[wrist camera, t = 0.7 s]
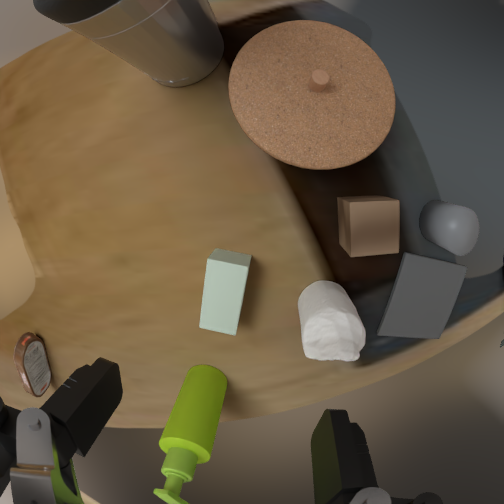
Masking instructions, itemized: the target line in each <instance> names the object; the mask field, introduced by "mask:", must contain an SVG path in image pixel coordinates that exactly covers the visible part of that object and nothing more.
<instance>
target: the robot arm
mask: <svg viewBox="0 0 504 504" xmlns="http://www.w3.org/2000/svg"><path fill="white" fill-rule="evenodd" d="M33 3H34V6H35V8H36V10H37V11H38V12H40V13H41V14H43V15H44V16H46V17H48V18H50V19H52V20H55V21H56V22H59V23H60V24H63V25H64V26H66V27H68V28H70V29H72V30H74V31H76V32H77V33H79V34H81V35H83V36H85V37H87V38H88V39H90V40H92V41H94V42H95V43H97V44H99V45H101V46H102V47H104V48H106V49H107V50H109V51H111V52H112V53H114V54H115V55H117V56H119V57H120V58H122V59H123V60H125V61H127V62H128V63H130V64H131V65H133V66H134V67H136V68H137V69H139V70H140V71H142V72H143V73H145V74H146V75H148V76H149V77H151V78H152V79H153V80H155V81H157V82H158V83H160V84H162V85H165V86H170V87H181V86H187V85H190V84H193V83H196V82H198V81H200V80H202V79H203V78H205V77H206V76H208V75H209V74H210V73H211V72H212V71H213V70H214V69H215V68H216V66H217V65H218V64H219V62H220V60H221V58H222V56H223V52H224V41H223V38H222V35H221V33H220V31H219V29H218V26H217V24H218V22H217V20H216V18H215V15H214V13H213V11H212V9H211V6H210V4H209V2H208V0H33ZM122 394H123V389H122V383H121V377H120V371H119V366H118V364H117V363H114V362H111V361H109V360H106V359H104V358H101V357H100V358H98V359H97V360H96V361H95V362H94V363H93V364H92V365H91V366H89V365H85V366H83V367H81V368H78V369H76V370H75V371H74V373H73V374H72V375H71V376H70V377H69V379H67V380H66V381H65V382H64V383H63V385H61V386H60V387H59V388H58V389H57V391H56V392H55V393H54V394H53V395H52V396H51V397H50V398H49V399H48V400H47V401H46V402H45V404H44V405H43V406H42V407H41V408H39V409H38V408H27V409H24V410H23V411H20V410H17V409H15V408H12V407H9V406H7V405H5V404H4V402H3V400H2V399H1V397H0V497H1V495H2V494H3V491H4V490H5V488H6V487H7V485H8V483H9V482H10V480H11V489H12V496H13V502H14V504H84V502H83V500H82V498H81V494H80V491H79V487H78V483H77V479H76V475H75V470H74V465H73V460H72V457H73V455H74V453H77V454H79V455H81V456H82V457H85V456H86V454H87V452H88V451H89V449H90V448H91V446H92V445H93V443H94V441H95V440H96V438H97V437H98V435H99V434H100V432H101V431H102V429H103V428H104V426H105V425H106V423H107V421H108V420H109V418H110V417H111V415H112V414H113V412H114V411H115V409H116V408H117V406H118V405H119V403H120V401H121V399H122ZM366 444H367V442H366V438H365V434H364V432H363V430H362V429H361V428H360V427H359V425H358V424H357V423H350V421H349V417H348V413H347V411H346V410H336V409H335V410H334V409H326V410H325V411H324V413H323V415H322V417H321V419H320V421H319V423H318V424H317V426H316V428H315V430H314V432H313V434H312V439H311V453H312V466H313V482H314V499H315V504H443V502H442V500H441V498H440V497H439V496H438V495H436V494H434V493H430V492H426V493H423V494H420V495H419V496H417V497H416V498H415V499H403V498H393V497H390V496H389V495H388V493H386V492H385V491H384V490H382V489H380V488H379V487H378V485H377V481H376V477H375V473H374V469H373V465H372V461H371V457H370V454H369V449H368V446H367V445H366Z"/></svg>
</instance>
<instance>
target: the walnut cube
mask: <svg viewBox="0 0 504 504" xmlns="http://www.w3.org/2000/svg"><path fill="white" fill-rule="evenodd" d="M337 203H338V223H339V244H340V245H341V246H342V247H343V248H344V250H345V251H346V252H347V253H348V254H349V256H350V257H358V256H369V255H380V254H391V253H399V226H400V209H399V200H396V199H392V198H389V197H385V196H381V195H377V196H353V197H337Z"/></svg>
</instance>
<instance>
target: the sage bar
mask: <svg viewBox="0 0 504 504" xmlns="http://www.w3.org/2000/svg"><path fill="white" fill-rule="evenodd" d="M251 256H252V255H248V254H243V253H238V252H233V251H228V250H223V249H218V248H215V250H214V251H213V252H212V254H211V255H210V256H209V257H208V260H207V267H206V275H205V283H204V291H203V299H202V308H201V317H200V326H199V327H200V328H204V329H208V330H213V331H217V332H222V333H226V334H231V335H236V331H237V327H238V323H239V319H240V313H241V308H242V303H243V298H244V293H245V287H246V282H247V277H248V272H249V266H250V261H251Z"/></svg>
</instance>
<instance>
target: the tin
mask: <svg viewBox="0 0 504 504" xmlns="http://www.w3.org/2000/svg"><path fill="white" fill-rule="evenodd" d="M14 363H15V366H16V369H17V371H18V374H19V377H20V379H21V382H22V385H23V387H24V389H25V391H27V392H28V393H30V394H32V395H33V396H35V397H41V396H42V395H43V394H44V393H45V391H46V390H47V388H48V387H49V385H50V381H51V370H50V366H49V362H48V358H47V354H46V350H45V345H44V343H43V341H42V340H41V339H40V338H39V337H37V336H35V335H34V334H33V333H30V332H27V333H25V334H23V335H22V336H21V337H20V338H19V339H18V341H17V343H16V345H15V348H14Z"/></svg>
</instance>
